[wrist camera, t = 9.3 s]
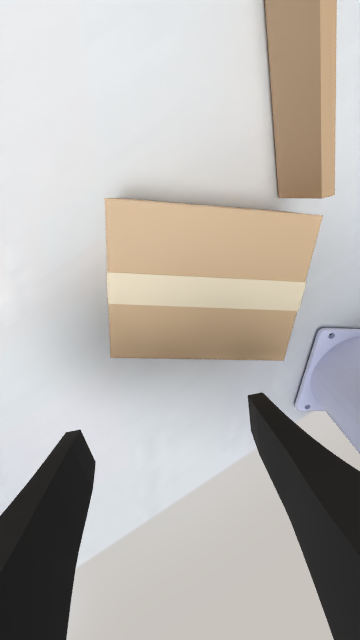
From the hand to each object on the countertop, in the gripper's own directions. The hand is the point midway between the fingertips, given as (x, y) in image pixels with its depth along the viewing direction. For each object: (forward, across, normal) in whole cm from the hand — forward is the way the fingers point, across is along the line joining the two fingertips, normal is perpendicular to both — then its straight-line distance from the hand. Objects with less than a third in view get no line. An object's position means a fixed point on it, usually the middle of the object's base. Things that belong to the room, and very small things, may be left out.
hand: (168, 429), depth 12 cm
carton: (+9, -3, -4) cm, 11 cm away
